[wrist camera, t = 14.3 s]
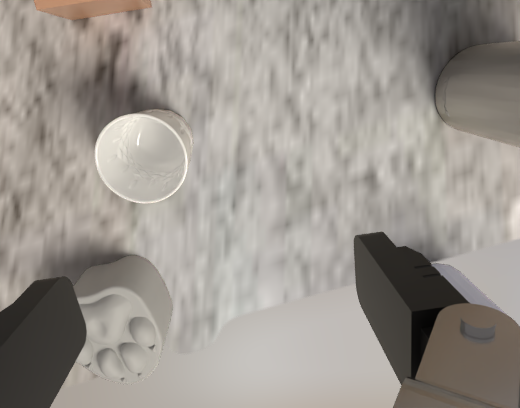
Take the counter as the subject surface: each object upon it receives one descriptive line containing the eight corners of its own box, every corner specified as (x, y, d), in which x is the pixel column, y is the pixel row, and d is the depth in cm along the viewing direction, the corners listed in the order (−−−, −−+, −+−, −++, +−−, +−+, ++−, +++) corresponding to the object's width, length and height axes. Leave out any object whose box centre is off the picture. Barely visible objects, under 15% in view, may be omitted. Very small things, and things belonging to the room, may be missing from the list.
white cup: (118, 108, 41) (82, 120, 31) (191, 98, 41) (177, 107, 31) (136, 178, 43) (107, 209, 34) (204, 169, 43) (195, 196, 34)
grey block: (150, 249, 46) (131, 287, 38) (186, 332, 51) (176, 382, 43) (70, 272, 47) (35, 315, 39) (113, 352, 51) (90, 406, 43)
